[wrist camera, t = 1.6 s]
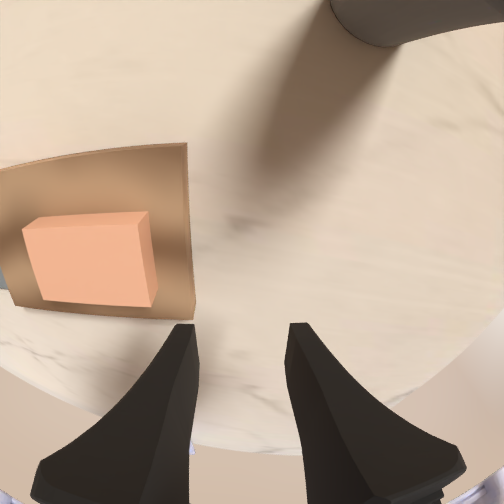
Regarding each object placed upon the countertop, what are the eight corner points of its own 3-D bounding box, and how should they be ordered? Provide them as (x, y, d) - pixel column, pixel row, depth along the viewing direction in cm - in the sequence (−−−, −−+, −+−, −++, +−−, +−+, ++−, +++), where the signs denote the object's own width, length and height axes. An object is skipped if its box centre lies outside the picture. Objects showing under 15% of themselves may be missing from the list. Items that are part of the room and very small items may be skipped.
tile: (148, 211, 15) (137, 224, 13) (158, 288, 17) (151, 307, 16) (38, 217, 15) (21, 229, 13) (56, 283, 17) (43, 299, 15)
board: (195, 302, 20) (192, 319, 19) (26, 292, 19) (15, 305, 18) (187, 142, 15) (181, 145, 14) (-5, 170, 14) (-21, 177, 13)
